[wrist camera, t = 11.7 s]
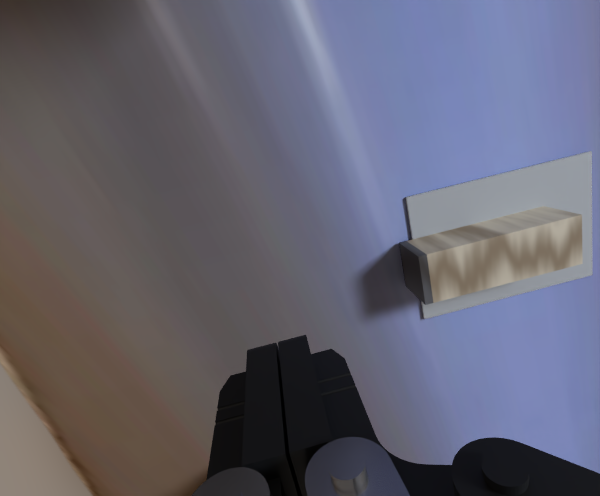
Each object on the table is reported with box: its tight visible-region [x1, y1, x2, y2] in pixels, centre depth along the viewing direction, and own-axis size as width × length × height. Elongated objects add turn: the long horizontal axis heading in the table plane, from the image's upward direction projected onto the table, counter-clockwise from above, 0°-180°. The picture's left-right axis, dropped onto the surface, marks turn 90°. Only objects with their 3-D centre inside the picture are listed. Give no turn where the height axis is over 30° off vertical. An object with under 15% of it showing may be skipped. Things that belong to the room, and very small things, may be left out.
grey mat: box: [405, 151, 592, 319], centre depth 41 cm, size 14×20×1 cm
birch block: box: [399, 206, 583, 305], centre depth 38 cm, size 5×5×16 cm
